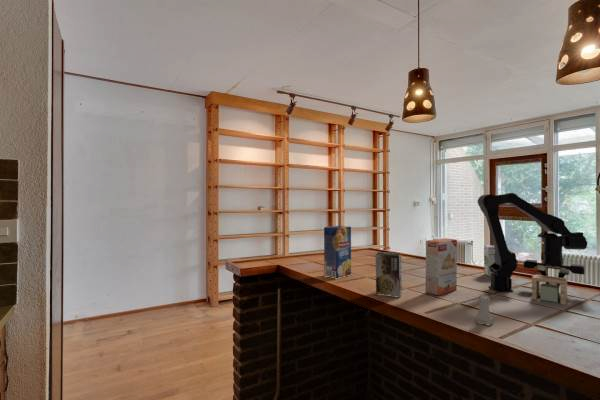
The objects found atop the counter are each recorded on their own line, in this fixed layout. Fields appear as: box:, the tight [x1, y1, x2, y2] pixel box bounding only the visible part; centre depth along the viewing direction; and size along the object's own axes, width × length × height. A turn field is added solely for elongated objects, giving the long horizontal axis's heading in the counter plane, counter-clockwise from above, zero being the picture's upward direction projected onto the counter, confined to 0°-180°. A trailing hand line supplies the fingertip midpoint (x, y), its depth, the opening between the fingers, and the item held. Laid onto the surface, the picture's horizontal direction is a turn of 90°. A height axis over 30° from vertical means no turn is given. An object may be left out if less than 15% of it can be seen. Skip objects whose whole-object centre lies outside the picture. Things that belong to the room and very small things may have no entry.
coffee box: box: [375, 251, 403, 298], centre depth 125 cm, size 9×6×16 cm
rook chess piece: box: [475, 294, 494, 325], centre depth 95 cm, size 4×4×8 cm
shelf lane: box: [531, 274, 568, 305], centre depth 118 cm, size 9×9×8 cm
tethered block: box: [539, 275, 560, 303], centre depth 122 cm, size 16×5×6 cm, turn 137°
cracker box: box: [425, 238, 458, 296], centre depth 128 cm, size 14×6×21 cm, turn 126°
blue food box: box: [323, 225, 352, 278], centre depth 156 cm, size 12×8×24 cm, turn 137°
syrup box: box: [483, 244, 495, 278], centre depth 155 cm, size 6×6×14 cm
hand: (553, 288), depth 127 cm, fingers closed on tethered block, 3 cm apart
